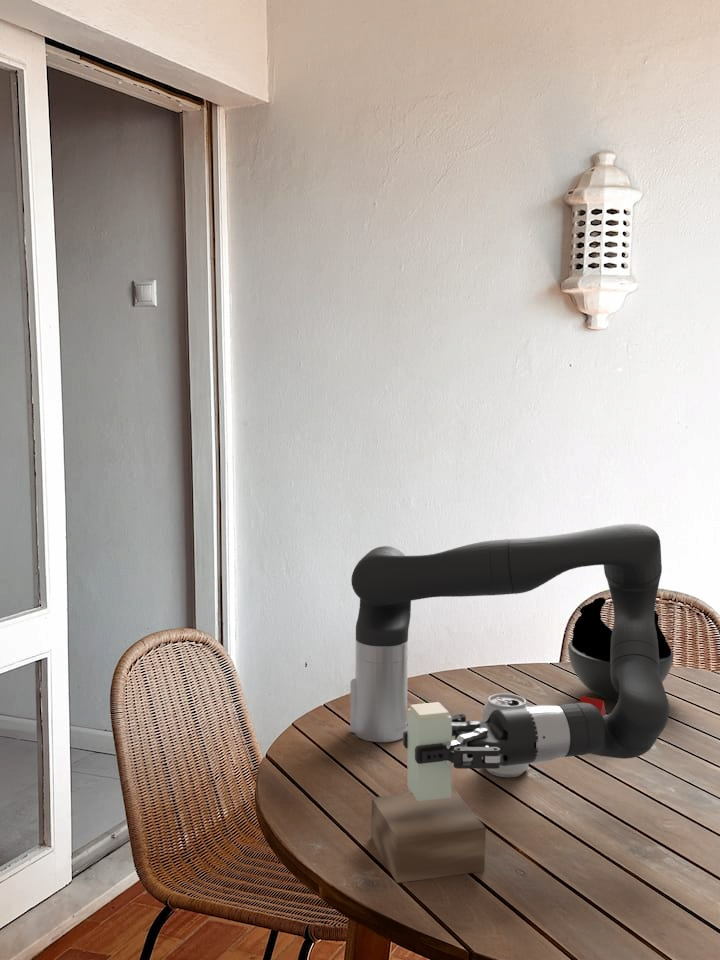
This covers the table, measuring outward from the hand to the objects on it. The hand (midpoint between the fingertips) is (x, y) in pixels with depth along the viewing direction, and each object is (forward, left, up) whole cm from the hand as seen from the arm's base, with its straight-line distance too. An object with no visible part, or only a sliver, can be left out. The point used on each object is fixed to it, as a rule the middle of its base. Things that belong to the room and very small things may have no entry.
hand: (410, 747), depth 131 cm
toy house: (+1, +56, -16) cm, 58 cm away
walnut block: (+1, +2, -15) cm, 16 cm away
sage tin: (+2, +2, -6) cm, 7 cm away
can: (-4, +33, -16) cm, 37 cm away
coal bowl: (-3, +77, -16) cm, 79 cm away
